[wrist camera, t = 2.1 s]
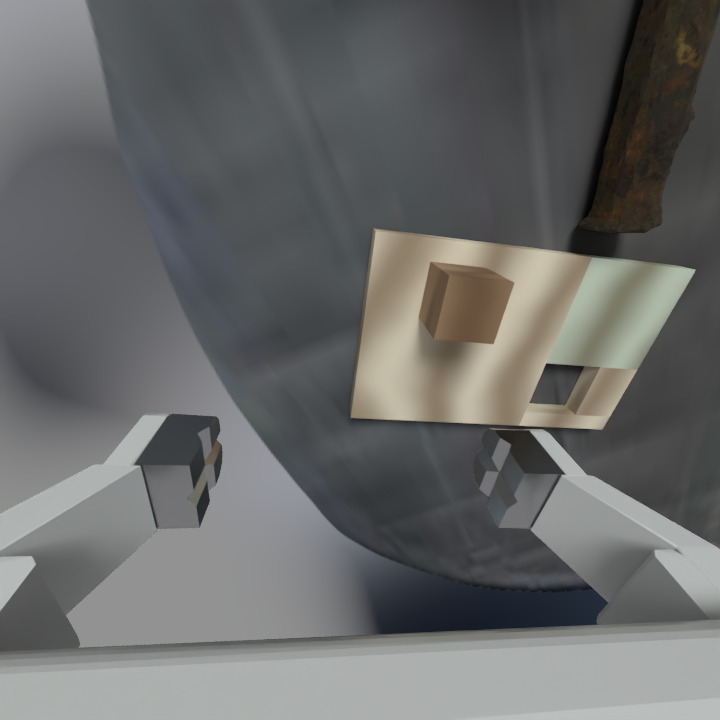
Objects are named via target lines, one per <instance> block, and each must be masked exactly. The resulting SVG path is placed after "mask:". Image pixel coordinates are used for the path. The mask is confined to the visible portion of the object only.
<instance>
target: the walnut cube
mask: <svg viewBox="0 0 720 720" xmlns="http://www.w3.org/2000/svg"><path fill="white" fill-rule="evenodd" d="M513 286H514V282H512V281H510V280H508V279H507V278H505V277H503V276H501V275H499V274H497V273H495V272H493V271H491V270H489V269H487V268H484V267H475V266H466V265H457V264H448V263H439V262H430V266H429V271H428V275H427V280H426V285H425V289H424V294H423V299H422V303H421V308H420V313H419V318H420V320H421V321H422V323H423V324H424V326H425V327H426V329H427V330H428V332H429V333H430V335H431V336H432V337H433V339H434V340H447V341H459V342H472V343H485V344H494V342H495V339H496V336H497V333H498V330H499V327H500V324H501V321H502V318H503V315H504V312H505V309H506V306H507V303H508V301H509V298H510V295H511V292H512V289H513Z"/></svg>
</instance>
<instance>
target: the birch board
mask: <svg viewBox="0 0 720 720" xmlns="http://www.w3.org/2000/svg"><path fill="white" fill-rule="evenodd" d="M430 262H439V263H448V264H457V265H466V266H475V267H484V268H487V269H489V270H491V271H493V272H495V273H497V274H499V275H501V276H503V277H505V278H507V279H508V280H510V281H512V282H514V286H513V289H512V292H511V295H510V298H509V301H508V303H507V306H506V309H505V312H504V315H503V318H502V321H501V324H500V327H499V330H498V333H497V336H496V339H495V342H494V344H485V343H472V342H459V341H447V340H434V339H433V337H432V336H431V335H430V333H429V332H428V330H427V329H426V327H425V326H424V324H423V323H422V321H421V320H420V318H419V313H420V308H421V303H422V299H423V294H424V289H425V285H426V280H427V275H428V271H429V266H430ZM695 271H696V270H694V269H690V268H685V267H681V266H676V265H668V264H660V263H651V262H643V261H635V260H627V259H619V258H611V257H602V256H594V255H586V254H578V253H570V252H562V251H553V250H545V249H537V248H529V247H521V246H513V245H504V244H496V243H488V242H480V241H472V240H463V239H455V238H447V237H439V236H431V235H423V234H414V233H406V232H398V231H390V230H382V229H374V228H373V232H372V240H371V248H370V255H369V263H368V271H367V278H366V286H365V294H364V301H363V309H362V317H361V324H360V332H359V340H358V347H357V355H356V363H355V370H354V378H353V386H352V394H351V401H350V416H351V418H363V419H385V420H407V421H429V422H451V423H473V424H494V425H516V426H538V427H560V428H582V429H603V427H604V426H605V424H606V422H607V420H608V419H609V417H610V415H611V414H612V412H613V410H614V409H615V407H616V405H617V403H618V402H619V400H620V398H621V397H622V395H623V393H624V391H625V390H626V388H627V386H628V385H629V383H630V381H631V380H632V378H633V376H634V374H635V373H636V371H637V369H638V368H639V366H640V364H641V363H642V361H643V359H644V357H645V356H646V354H647V352H648V351H649V349H650V347H651V345H652V344H653V342H654V340H655V339H656V337H657V335H658V334H659V332H660V330H661V328H662V327H663V325H664V323H665V322H666V320H667V318H668V317H669V315H670V313H671V311H672V310H673V308H674V306H675V305H676V303H677V301H678V299H679V298H680V296H681V294H682V293H683V291H684V289H685V288H686V286H687V284H688V282H689V281H690V279H691V277H692V276H693V274H694V272H695ZM546 363H549V364H563V365H577V366H584V368H583V370H582V372H581V374H580V376H579V378H578V380H577V382H576V384H575V386H574V388H573V390H572V392H571V394H570V396H569V398H568V400H567V402H566V404H565V405H551V404H533V403H529V402H530V399H531V397H532V395H533V393H534V390H535V388H536V386H537V383H538V381H539V379H540V376H541V374H542V372H543V370H544V367H545V365H546Z"/></svg>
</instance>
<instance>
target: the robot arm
mask: <svg viewBox="0 0 720 720" xmlns="http://www.w3.org/2000/svg"><path fill="white" fill-rule="evenodd" d="M219 432H220V424H219V419H218V418H217V417H214V416H197V415H181V414H162V413H148V414H146V415H143V416H142V417H141V419H140V420H139V421H138V422H137V423H136V425H135V426H134V427H133V428H132V430H131V431H130V432H129V433H128V434H127V436H126V437H125V438H124V439H123V441H122V442H121V443H120V444H119V445H118V447H117V448H116V449H115V450H114V452H113V453H112V454H111V455H110V456H109V458H108V459H107V460H106V461H105V462H104V464H103V465H93V466H91V467H89V468H87V469H85V470H83V471H81V472H80V473H78V474H76V475H74V476H72V477H70V478H68V479H66V480H64V481H62V482H60V483H58V484H56V485H54V486H53V487H51V488H49V489H47V490H45V491H43V492H41V493H39V494H37V495H35V496H34V497H32V498H30V499H28V500H26V501H24V502H22V503H20V504H18V505H16V506H14V507H12V508H10V509H8V510H7V511H5V512H3V513H1V514H0V720H720V549H719V548H717V547H716V546H714V545H712V544H710V543H709V542H707V541H705V540H703V539H702V538H700V537H698V536H697V535H695V534H693V533H691V532H690V531H688V530H686V529H684V528H683V527H681V526H679V525H677V524H676V523H674V522H672V521H670V520H669V519H667V518H665V517H664V516H662V515H660V514H658V513H657V512H655V511H653V510H651V509H650V508H648V507H646V506H644V505H643V504H641V503H639V502H638V501H636V500H634V499H632V498H631V497H629V496H627V495H625V494H624V493H622V492H620V491H618V490H617V489H615V488H613V487H611V486H610V485H608V484H606V483H605V482H603V481H601V480H599V479H598V478H596V477H594V476H587V475H586V474H585V472H584V471H583V470H582V469H581V468H580V467H579V466H578V465H577V464H576V463H575V461H574V460H573V459H572V458H571V457H570V456H569V455H568V454H567V453H566V451H565V450H564V449H563V448H562V447H561V446H560V445H559V444H558V443H557V441H556V440H555V439H554V438H553V437H552V436H551V435H550V434H549V433H548V432H546V431H544V430H543V429H524V430H519V429H491V428H488V429H487V430H486V431H485V432H484V434H483V437H482V439H481V441H482V443H483V445H484V447H483V448H482V449H481V450H479V451H478V452H477V453H476V456H475V459H474V462H473V474H474V478H475V481H476V484H477V486H478V488H479V489H480V490H481V491H482V492H483V493H485V494H486V495H487V496H488V500H487V506H488V508H489V510H490V512H491V514H492V516H493V518H494V520H495V522H496V524H497V526H498V528H531V531H532V532H533V533H534V534H535V535H536V536H538V537H539V538H540V539H541V540H542V541H543V542H544V543H545V544H546V545H547V546H548V547H549V548H550V549H551V550H553V551H554V552H555V553H556V554H557V555H558V556H559V557H560V558H561V559H562V560H563V561H564V562H565V563H566V564H568V565H569V566H570V567H571V568H572V569H573V570H574V571H575V572H576V573H577V574H578V575H579V576H580V577H581V578H583V579H584V580H585V581H586V582H587V583H588V584H589V585H590V586H591V587H592V588H593V589H594V590H596V592H598V593H599V594H600V595H601V596H602V597H603V598H604V599H605V600H606V601H607V602H608V604H607V606H606V607H605V608H604V609H603V610H602V611H601V612H600V614H599V615H598V618H597V623H598V625H585V626H562V627H539V628H517V629H494V630H469V631H447V632H423V633H401V634H379V635H357V636H335V637H313V638H288V639H267V640H244V641H221V642H199V643H176V644H153V645H131V646H110V647H109V646H108V647H87V648H86V647H85V648H79V646H80V642H79V639H78V636H77V634H76V632H75V631H74V629H73V627H72V625H71V624H70V622H69V620H68V618H67V617H66V614H67V613H69V612H70V611H71V610H72V609H73V608H74V607H75V606H76V605H77V604H78V603H79V602H80V601H82V600H83V599H84V598H85V597H86V596H87V595H88V594H89V593H90V592H91V591H92V590H94V589H95V588H96V587H97V586H98V585H99V584H100V583H101V582H102V581H103V580H104V579H105V578H106V577H108V576H109V575H110V574H111V573H112V572H113V571H114V570H115V569H116V568H117V567H118V566H120V565H121V564H122V563H123V562H124V561H125V560H126V559H127V558H128V557H129V556H131V555H132V553H134V552H135V551H136V550H137V549H138V548H139V547H140V546H141V545H142V544H144V543H145V542H146V541H147V540H148V539H149V538H150V537H151V536H152V535H153V534H154V533H156V532H157V529H163V528H164V529H166V528H199V527H200V525H201V522H202V520H203V517H204V514H205V512H206V509H207V507H208V504H209V501H210V499H209V492H208V491H209V490H210V489H211V488H212V487H214V486H215V485H216V483H217V480H218V477H219V474H220V470H221V464H222V445H221V444H220V443H219V442H218V441H217V440H216V439H217V437H218V435H219Z"/></svg>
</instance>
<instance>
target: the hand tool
mask: <svg viewBox="0 0 720 720" xmlns="http://www.w3.org/2000/svg"><path fill="white" fill-rule="evenodd" d="M719 14H720V0H644V1H643V5H642V8H641V11H640V15H639V18H638V22H637V26H636V29H635V33H634V37H633V41H632V44H631V48H630V50H629V53H628V57H627V60H626V62H625V68H624V75H623V82H622V87H621V91H620V95H619V99H618V103H617V107H616V111H615V115H614V119H613V122H612V125H611V127H610V131H609V135H608V141H607V143H606V146H605V149H604V156H603V165H602V168H601V171H600V174H599V181H598V186H597V190H596V194H595V199H594V202H593V206H592V209H591V211H590V213H589V215H588V216H587V217H586V218H585V219H583V220H581V221H580V222H579V227H580V228H581V229H588V230H591V231H598V232H605V233H645V232H647V231H649V230H650V229H652V228H654V227H657V226H660V225H661V223H662V206H661V203H662V192H663V189H664V186H665V183H666V180H667V177H668V175H669V173H670V168H671V165H672V161H673V158H674V155H675V152H676V150H677V148H678V145H679V143H680V142H681V140H682V138H683V137H684V135H685V133H686V132H687V131H688V127H689V124H690V121H692V120H693V119H694V118H695V116H694V111H693V109H692V105H691V104H692V100H693V97H694V95H695V92H696V88H697V83H698V80H699V77H700V74H701V71H702V67H703V64H704V61H705V58H706V55H707V52H708V49H709V46H710V43H711V39H712V36H713V33H714V29H715V26H716V23H717V20H718V17H719Z"/></svg>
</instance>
